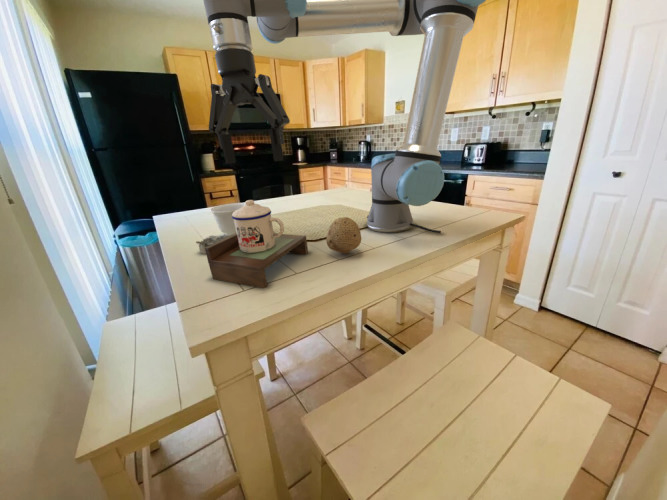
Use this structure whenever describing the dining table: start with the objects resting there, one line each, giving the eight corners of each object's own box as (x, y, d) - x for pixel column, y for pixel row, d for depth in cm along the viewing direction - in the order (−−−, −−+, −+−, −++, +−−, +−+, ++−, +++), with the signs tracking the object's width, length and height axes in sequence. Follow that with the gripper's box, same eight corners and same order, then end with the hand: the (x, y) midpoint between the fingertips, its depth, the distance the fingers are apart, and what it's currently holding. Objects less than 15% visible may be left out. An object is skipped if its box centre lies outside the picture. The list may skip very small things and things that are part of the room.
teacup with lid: (232, 253, 65) (221, 205, 60) (249, 240, 73) (240, 197, 68) (280, 254, 62) (272, 204, 58) (292, 240, 71) (286, 195, 66)
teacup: (255, 239, 88) (250, 209, 85) (210, 242, 89) (203, 212, 85) (264, 228, 100) (260, 201, 96) (224, 230, 100) (218, 204, 96)
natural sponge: (369, 252, 72) (369, 216, 68) (345, 263, 67) (343, 225, 63) (346, 244, 79) (344, 211, 75) (322, 254, 73) (319, 218, 70)
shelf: (308, 252, 75) (304, 225, 72) (264, 288, 59) (257, 254, 55) (264, 247, 81) (259, 222, 78) (212, 278, 64) (204, 247, 61)
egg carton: (197, 255, 80) (193, 242, 78) (208, 245, 87) (204, 233, 85) (233, 252, 79) (230, 239, 78) (241, 243, 86) (238, 230, 85)
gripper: (174, 59, 56) (201, 166, 64) (275, 32, 47) (292, 161, 55) (202, 66, 62) (224, 162, 71) (297, 44, 53) (309, 157, 61)
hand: (254, 162), depth 63 cm, fingers open, 13 cm apart
